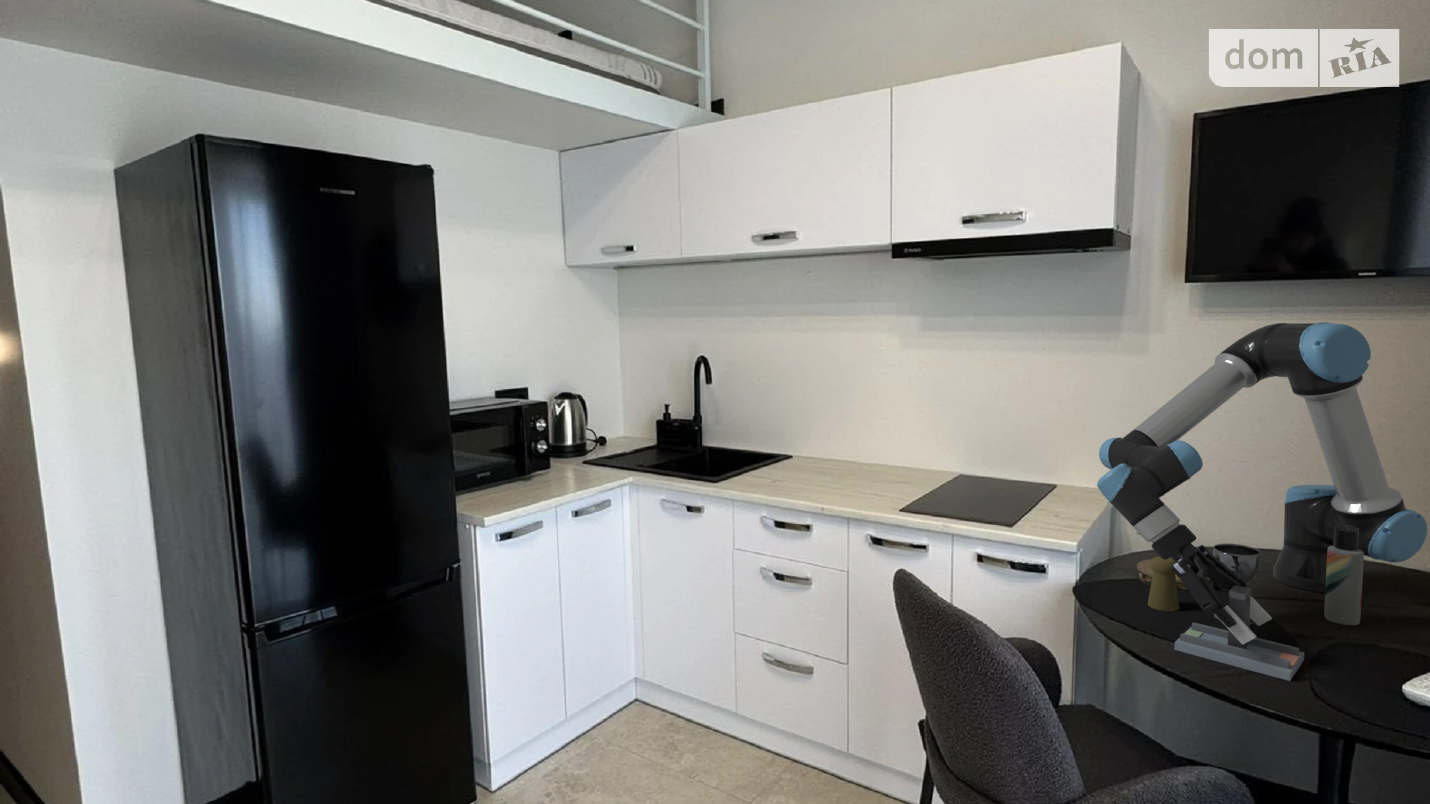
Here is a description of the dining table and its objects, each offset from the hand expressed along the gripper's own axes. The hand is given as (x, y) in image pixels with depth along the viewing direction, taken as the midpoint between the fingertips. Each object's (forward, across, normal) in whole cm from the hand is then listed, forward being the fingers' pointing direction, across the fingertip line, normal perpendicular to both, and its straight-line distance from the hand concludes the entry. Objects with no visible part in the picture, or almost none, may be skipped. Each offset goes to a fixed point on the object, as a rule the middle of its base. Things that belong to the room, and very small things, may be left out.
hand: (1257, 631), depth 137 cm
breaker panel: (+2, 0, -6) cm, 6 cm away
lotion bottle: (+10, -32, +1) cm, 33 cm away
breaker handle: (+1, 0, -5) cm, 5 cm away
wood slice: (-13, -35, -21) cm, 43 cm away
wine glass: (-2, -19, -10) cm, 21 cm away
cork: (-10, -16, -19) cm, 27 cm away
